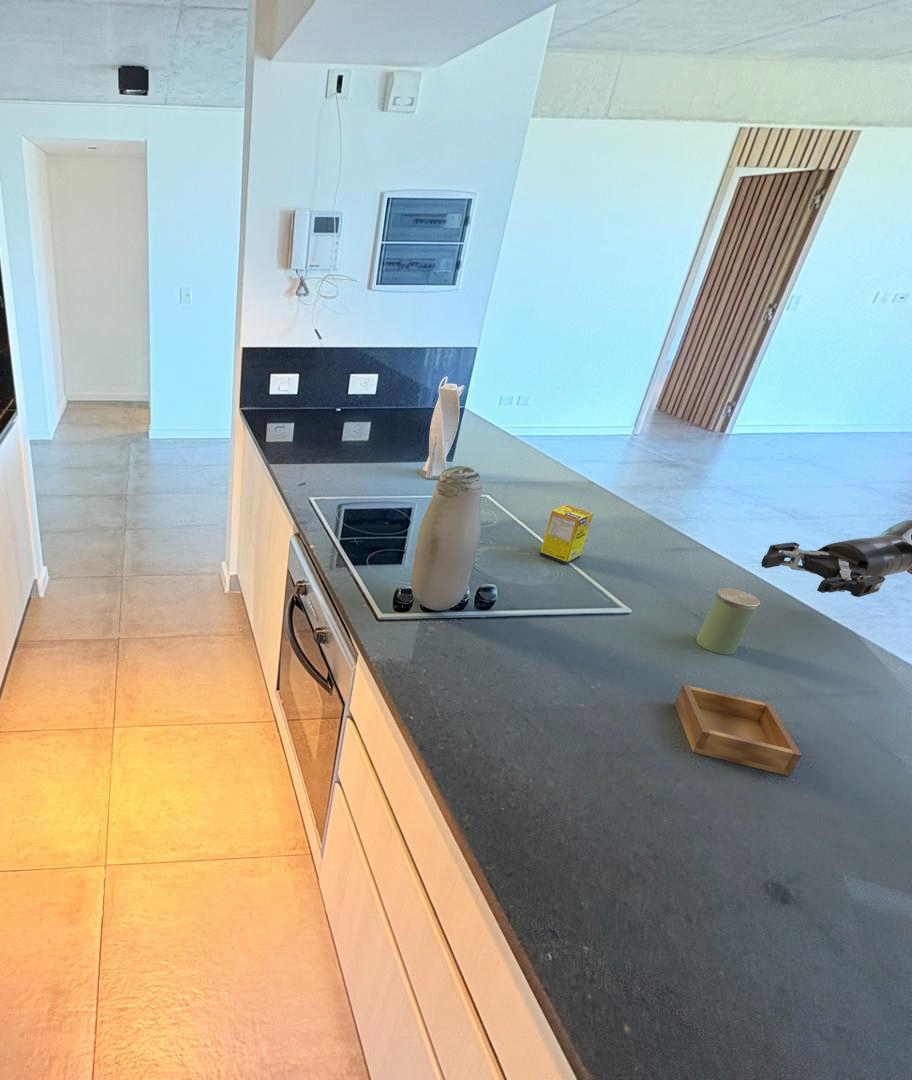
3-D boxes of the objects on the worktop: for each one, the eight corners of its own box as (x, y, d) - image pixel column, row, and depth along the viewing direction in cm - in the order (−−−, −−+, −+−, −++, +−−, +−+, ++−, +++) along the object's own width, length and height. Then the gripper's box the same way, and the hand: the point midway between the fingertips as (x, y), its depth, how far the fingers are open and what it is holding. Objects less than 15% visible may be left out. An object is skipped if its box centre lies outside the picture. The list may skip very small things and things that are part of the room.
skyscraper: (414, 469, 186) (431, 376, 173) (440, 468, 186) (458, 375, 174) (427, 479, 178) (445, 382, 166) (453, 478, 179) (473, 381, 166)
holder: (760, 723, 90) (771, 703, 88) (789, 776, 81) (802, 755, 79) (673, 703, 94) (682, 684, 92) (692, 752, 85) (702, 731, 83)
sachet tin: (729, 640, 108) (753, 592, 104) (740, 658, 104) (765, 608, 99) (691, 633, 110) (713, 585, 106) (700, 650, 106) (723, 601, 101)
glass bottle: (415, 586, 125) (440, 454, 112) (468, 602, 119) (501, 465, 107) (399, 607, 117) (424, 470, 105) (454, 625, 112) (488, 482, 100)
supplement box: (579, 558, 135) (594, 513, 130) (565, 565, 132) (580, 519, 127) (552, 548, 140) (566, 503, 135) (538, 555, 137) (551, 510, 132)
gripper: (897, 599, 104) (830, 615, 100) (802, 560, 116) (739, 572, 112) (921, 560, 101) (853, 575, 96) (820, 524, 113) (756, 536, 109)
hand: (792, 573), depth 104 cm, fingers open, 8 cm apart
